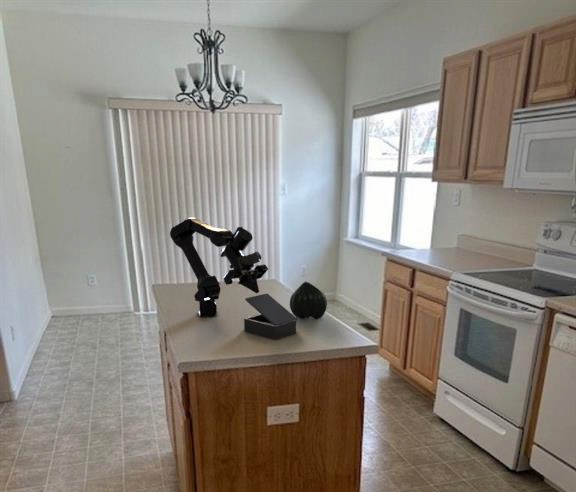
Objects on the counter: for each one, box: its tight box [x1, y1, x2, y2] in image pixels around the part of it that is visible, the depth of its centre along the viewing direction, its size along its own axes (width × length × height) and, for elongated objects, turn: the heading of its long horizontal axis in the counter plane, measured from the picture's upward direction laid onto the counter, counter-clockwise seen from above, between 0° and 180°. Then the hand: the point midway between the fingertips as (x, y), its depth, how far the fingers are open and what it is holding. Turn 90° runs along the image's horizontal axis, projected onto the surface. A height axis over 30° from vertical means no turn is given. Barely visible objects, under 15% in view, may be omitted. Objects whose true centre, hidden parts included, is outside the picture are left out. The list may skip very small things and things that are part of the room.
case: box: [243, 313, 297, 340], centre depth 197 cm, size 16×12×5 cm
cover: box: [244, 293, 298, 326], centre depth 195 cm, size 16×12×1 cm
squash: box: [289, 281, 328, 320], centre depth 216 cm, size 14×15×15 cm
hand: (257, 292), depth 197 cm, fingers closed
